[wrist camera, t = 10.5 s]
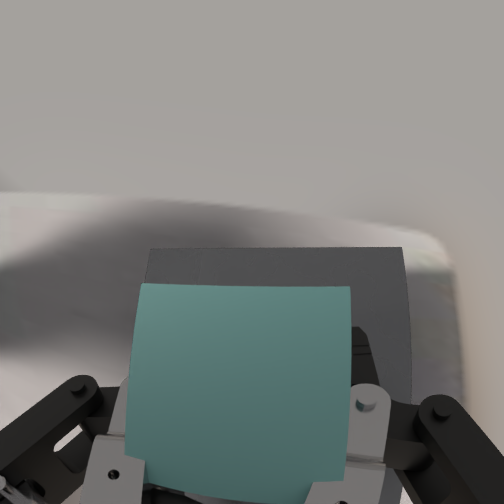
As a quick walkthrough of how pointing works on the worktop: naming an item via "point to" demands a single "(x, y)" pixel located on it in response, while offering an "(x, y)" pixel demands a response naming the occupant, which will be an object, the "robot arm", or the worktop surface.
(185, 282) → the socket block
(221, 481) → the teal peg
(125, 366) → the worktop surface
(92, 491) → the robot arm
